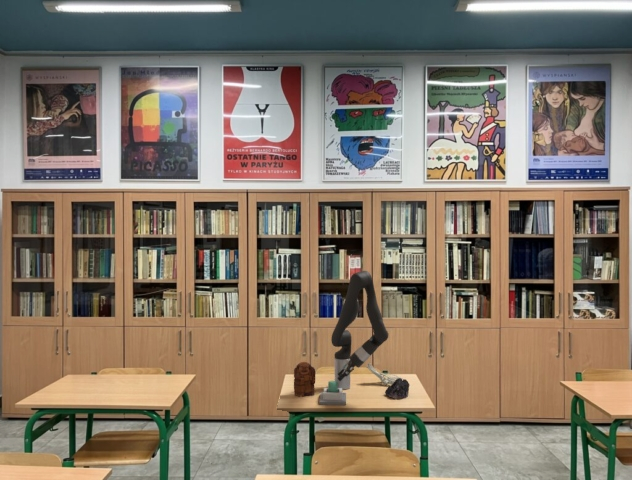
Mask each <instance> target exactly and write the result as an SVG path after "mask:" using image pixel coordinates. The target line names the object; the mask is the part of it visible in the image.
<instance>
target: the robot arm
mask: <svg viewBox="0 0 632 480" xmlns="http://www.w3.org/2000/svg"><path fill="white" fill-rule="evenodd" d="M362 289H364V291H365V293H366V307H365V308H366V314H367V317H368V320H369V323H370V324H371V328H372V331H373V335H372V336H371V337H370V338H369V339H367V340H366V341H365V342H364V343H362V344H361V346H360V347H358V348H357V349H356V350H355V351H354V352H353V353H352V341H353V340H352V339H353V338H352V333H351V332H350V331H349V330H347V328H348V327H350V325H351V324H352V323H353V322H355V320H356V318H357V317H358V313H359V312H360V303H359V299H358V297H359V294H360V291H362ZM376 294H377V293H376V290H375V285H374V281H373V277H372V275H371V272H370V271H367V270H362V271H359V272H354V273H353V274H352V275H351V276H350V278H349V283H348V287H347V292H346V295H345V299H344V302H343V305H342V308H341V311H340V313H339V314H340V315H339V317H338V321H337V323H336V325H335V327H334V329H333V332H332V333H331V334H332V335H331V344H332V346H333V347H336V348H340V349H339V350H338V351H336V352H335V353H334V381H337V382H338V388H342V390H348V389H350V388H351V373H352V372H353V371H354V370H355V367H356V368H358V369H359V368H361V366H362V365H363V364H365V363H366V361H368V359H370V357H371V356H372V355H373V354H374V353H375V352H376V351H377V349H378V348H380V346H381V345H383V344H384V343H385V342H386V341H387V340H388V338H389V332H388V330H387V328H386V326H385V324H384V323H385V322H384V318H383V315H382V313H381V310H380V307H379V305H378V301H377V296H376Z"/></svg>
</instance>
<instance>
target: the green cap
mask: <svg viewBox="0 0 632 480" xmlns="http://www.w3.org/2000/svg"><path fill="white" fill-rule="evenodd" d="M327 384H328V386H327V388H328V392H330V393H338V382H337V381H335V380H330V381H328V383H327Z"/></svg>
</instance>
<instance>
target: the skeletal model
mask: <svg viewBox="0 0 632 480" xmlns="http://www.w3.org/2000/svg"><path fill="white" fill-rule="evenodd" d="M365 367H366V368H367V369H368V370H369V371H370V372H371V373H372V374H373V375H374V376H376V377H377V378H378V379H379V380H380V381H381V383H383V384H385V385H389V386H391V385H392V384H393V383H394V382H395V380H396V379H398V378H401V379H402V381H403V380H404V379H405V378H402V377H401V376H397V375H395V374H392V373H388V374H385V373H382V372H379V371H377V369H376V368H375V367H374V366H373V365H372V363H371V362H369V363H368V364H367V365H365Z"/></svg>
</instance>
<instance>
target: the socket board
mask: <svg viewBox="0 0 632 480" xmlns="http://www.w3.org/2000/svg"><path fill="white" fill-rule="evenodd" d="M318 401H319V403H318V405H319V406H346V405H347V393H346V392H343V389H342V388H338V393H330V392H328V387H323V392H322V391H321V392H320V395H319V399H318Z"/></svg>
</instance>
